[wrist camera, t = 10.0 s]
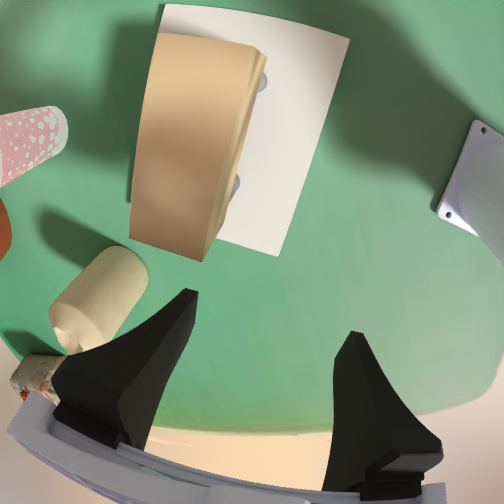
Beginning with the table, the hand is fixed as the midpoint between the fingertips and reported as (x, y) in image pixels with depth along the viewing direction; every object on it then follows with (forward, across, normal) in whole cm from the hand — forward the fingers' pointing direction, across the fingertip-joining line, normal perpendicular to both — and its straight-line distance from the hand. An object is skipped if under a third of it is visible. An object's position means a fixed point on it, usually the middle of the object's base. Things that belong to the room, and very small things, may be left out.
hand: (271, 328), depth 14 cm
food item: (+11, +30, +35) cm, 47 cm away
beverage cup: (+11, +22, -4) cm, 25 cm away
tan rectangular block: (+6, +6, -6) cm, 11 cm away
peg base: (+10, +6, -6) cm, 13 cm away
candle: (+11, +13, +8) cm, 19 cm away
